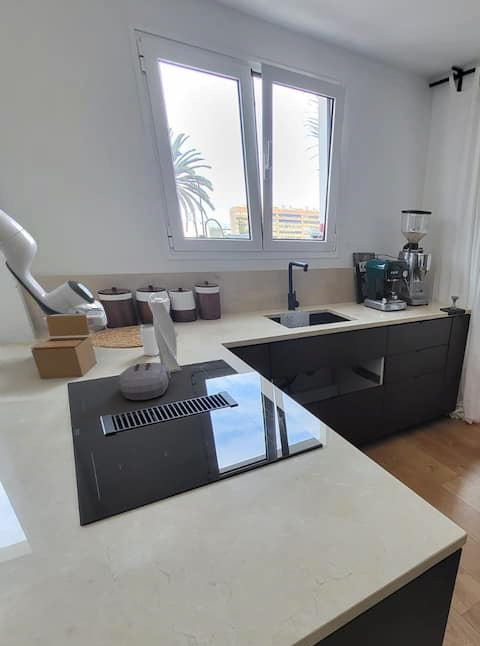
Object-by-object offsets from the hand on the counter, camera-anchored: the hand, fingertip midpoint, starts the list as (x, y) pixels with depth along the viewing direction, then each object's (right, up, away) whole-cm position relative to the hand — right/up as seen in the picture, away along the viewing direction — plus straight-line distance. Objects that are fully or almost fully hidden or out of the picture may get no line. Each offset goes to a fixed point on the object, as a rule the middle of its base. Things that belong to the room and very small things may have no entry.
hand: (68, 325), depth 146 cm
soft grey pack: (+38, -25, -16) cm, 49 cm away
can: (+22, -9, +19) cm, 30 cm away
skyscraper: (+37, -17, +2) cm, 41 cm away
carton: (+2, -17, -2) cm, 17 cm away
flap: (0, 0, 0) cm, 1 cm away
